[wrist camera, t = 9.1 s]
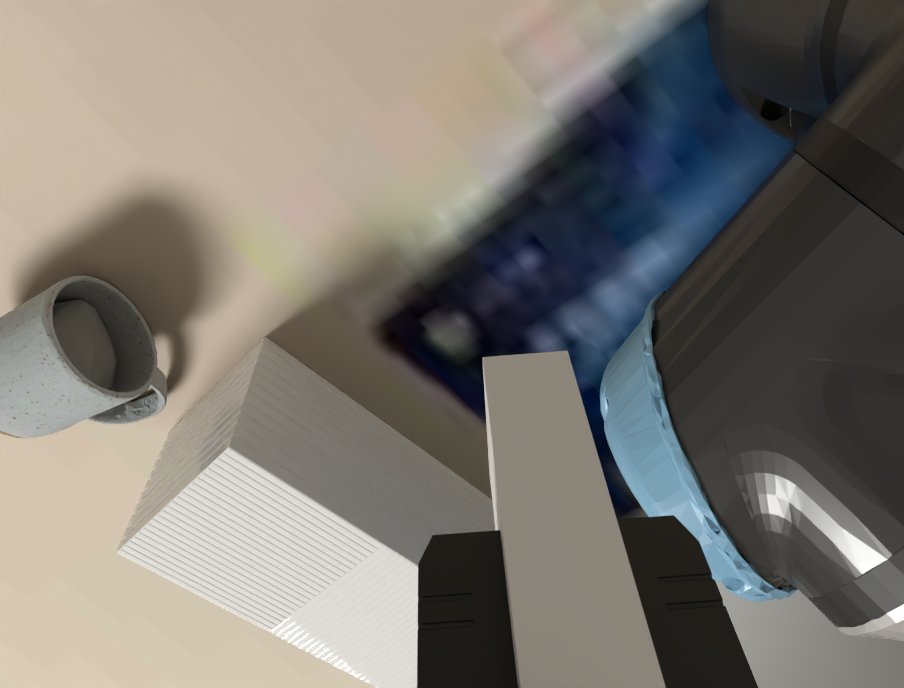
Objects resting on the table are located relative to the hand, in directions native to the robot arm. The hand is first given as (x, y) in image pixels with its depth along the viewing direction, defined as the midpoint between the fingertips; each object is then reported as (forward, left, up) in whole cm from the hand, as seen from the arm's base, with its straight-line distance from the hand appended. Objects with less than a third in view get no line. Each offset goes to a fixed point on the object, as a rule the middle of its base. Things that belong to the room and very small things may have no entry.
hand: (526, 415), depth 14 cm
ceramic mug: (+24, +14, -30) cm, 41 cm away
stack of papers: (+8, +31, -30) cm, 44 cm away
